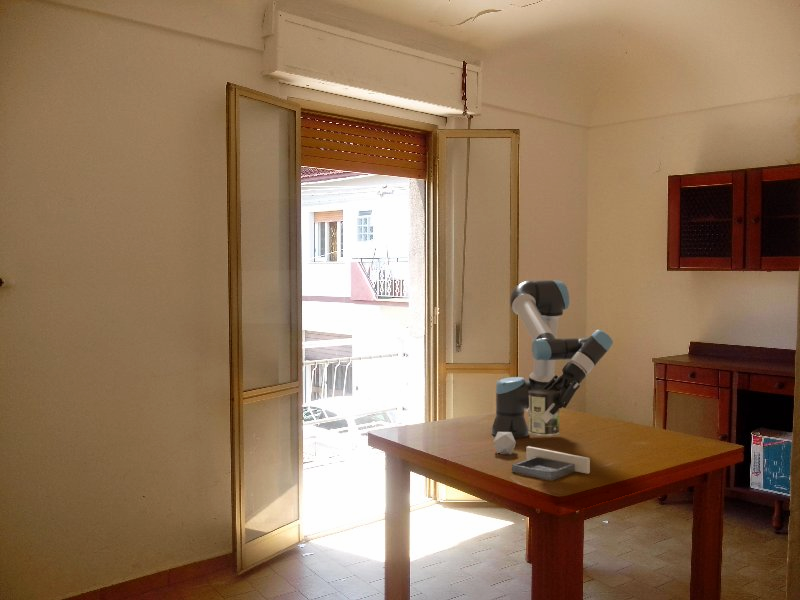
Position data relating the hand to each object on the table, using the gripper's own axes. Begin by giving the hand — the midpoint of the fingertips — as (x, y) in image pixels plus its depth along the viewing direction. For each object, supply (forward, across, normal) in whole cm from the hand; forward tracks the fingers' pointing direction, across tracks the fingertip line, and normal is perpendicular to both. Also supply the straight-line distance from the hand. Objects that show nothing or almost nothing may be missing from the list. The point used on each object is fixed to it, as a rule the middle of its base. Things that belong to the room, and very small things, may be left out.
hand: (535, 417), depth 238 cm
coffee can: (+2, 0, -6) cm, 6 cm away
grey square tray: (+11, 0, -15) cm, 19 cm away
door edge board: (+6, +4, -21) cm, 22 cm away
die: (+13, +27, -14) cm, 33 cm away
